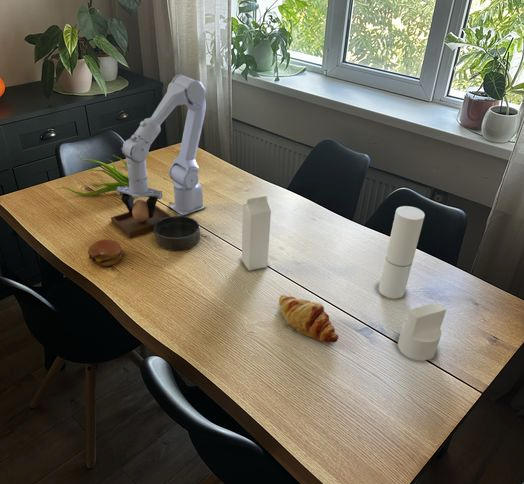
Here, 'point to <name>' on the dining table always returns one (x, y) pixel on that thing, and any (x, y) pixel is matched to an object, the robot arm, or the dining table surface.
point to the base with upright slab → (422, 331)
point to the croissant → (308, 318)
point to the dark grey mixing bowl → (176, 232)
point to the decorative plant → (114, 173)
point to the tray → (133, 226)
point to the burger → (105, 252)
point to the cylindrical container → (401, 251)
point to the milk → (256, 233)
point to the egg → (140, 211)
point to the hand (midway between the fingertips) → (141, 215)
